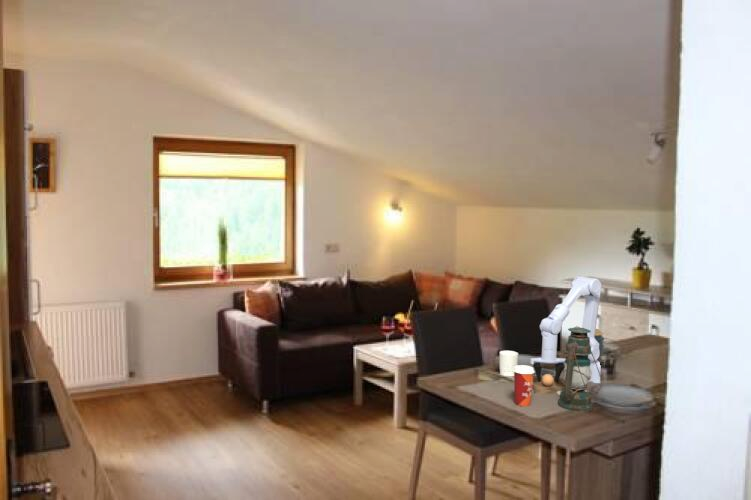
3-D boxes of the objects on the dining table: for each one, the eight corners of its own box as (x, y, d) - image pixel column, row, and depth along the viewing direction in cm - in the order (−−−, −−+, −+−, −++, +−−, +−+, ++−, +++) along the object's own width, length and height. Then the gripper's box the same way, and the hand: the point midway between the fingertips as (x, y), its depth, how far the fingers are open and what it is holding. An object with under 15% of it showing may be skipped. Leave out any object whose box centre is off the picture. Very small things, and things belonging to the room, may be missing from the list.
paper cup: (528, 409, 243) (530, 371, 241) (508, 404, 247) (510, 368, 245) (535, 403, 249) (537, 366, 248) (516, 399, 254) (517, 363, 252)
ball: (551, 384, 270) (552, 372, 270) (555, 387, 265) (555, 376, 265) (539, 383, 270) (540, 372, 269) (543, 387, 265) (543, 375, 265)
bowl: (551, 374, 287) (551, 368, 287) (560, 383, 275) (560, 376, 274) (522, 374, 287) (522, 368, 286) (529, 383, 274) (530, 376, 274)
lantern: (568, 395, 259) (572, 320, 256) (605, 404, 250) (610, 325, 247) (548, 408, 244) (552, 328, 240) (586, 417, 235) (591, 334, 232)
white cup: (517, 379, 279) (518, 355, 278) (498, 377, 281) (499, 354, 280) (517, 373, 287) (518, 351, 286) (498, 372, 289) (499, 350, 288)
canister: (606, 361, 311) (608, 324, 309) (599, 367, 300) (601, 329, 298) (578, 356, 317) (580, 320, 316) (570, 362, 307) (572, 325, 305)
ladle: (586, 390, 264) (586, 387, 264) (590, 395, 261) (591, 392, 260) (555, 392, 262) (555, 389, 262) (559, 397, 258) (559, 394, 258)
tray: (559, 383, 275) (559, 377, 275) (570, 394, 261) (570, 388, 261) (525, 383, 274) (525, 377, 274) (534, 393, 260) (535, 387, 260)
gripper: (564, 346, 270) (562, 378, 272) (528, 345, 270) (527, 378, 271) (569, 350, 263) (568, 383, 265) (533, 350, 263) (531, 383, 264)
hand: (547, 381), depth 267 cm, fingers open, 7 cm apart
